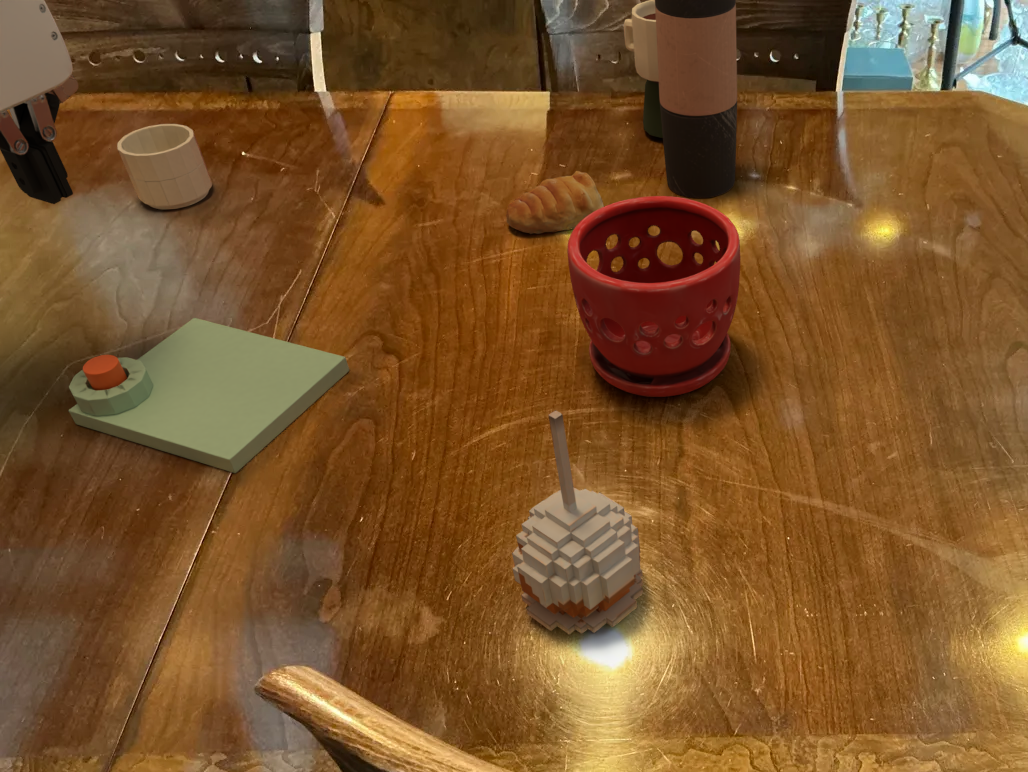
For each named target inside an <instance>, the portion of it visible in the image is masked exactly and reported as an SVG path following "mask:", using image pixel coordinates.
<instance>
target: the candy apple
mask: <svg viewBox="0 0 1028 772" xmlns="http://www.w3.org/2000/svg"><path fill="white" fill-rule="evenodd" d="M548 421H549V429H550V434H551V440H552V445H553V451H554V457H555V463H556V464H555V465H556V470H557V476H558V481H559V490H557V491H556V492H553V493H552V494H550V496H548V497H547V498H545V499H543V500H542V501H540V502H539V503H537V504H536V505H534V506H533V507H531V508H530V510H528V513H529V516H528V517H527V520H525V521H524V522H522V523H521V529H522V530H521V531H520V532H519V533H517V534H516V535H515V537H516V542H517V547H516V548H515V549H514V551H513V552H511V555H512V560H513V563H514V566H513V567H512V573H513V578H514V581H515V582H516V583H518V584H519V585H520V586H521V591H522V594H521V595H520V596H521V600H522V602H523V603H525V605H528V606H527V607H525V608H526V609H525V610H526V614H527V615H528V616H529V617H531V618H532V619H534V620H535V621H536V622H538V623H539V624H540V625H542V626H543V627H545V628H546V629H547V630H548V631H550V632H552V631H553V630H554V629H556V628H557V627H558V628H559V629H560V630H562V631H563V632H565V633H566V634H568V635H571V634H573V632H574V631H577V632H578V633H580V634H581V635H582V634H583V633H585V632H586V631H587V630H589V631H590V632H592V633H593V634H595V633H596V632H598V631H599V630H600V629H601V628H602V627H603V626H605V625H606V624H607V625H609V626H610V627H612V628H614V627H616V625H617V624H619V623H620V622H621V621H622V620H624V619H625V618H626V617H627V616H628V615H630V614H631V613H632V612H633V611H635V610H636V609H637V608H638V601H637V599H638V598H640V597H641V596H642V595H644V589H643V587H642V586H643V585H644V582H643V578H642V577H643V576H644V574H643V569H641V544H640V535H639V527H637V526H636V525H634V524H633V517H632V515H631V514H630V513H628V512H626V511H625V507H624V506H623V505H621V504H620V503H618V502H616V501H614V500H613V499H611V498H609V496H606V495H605V494H603V493H601V492H598V493H597V492H596V491H594V490H593V489H592V490H588V489H587V488H583V489H580V490H579V489H578V488H576V487H574V481H573V474H572V473H573V472H572V467H571V461H570V454H569V449H568V442H567V435H566V429H565V423H564V415H563V413H561V412H560V411H558V410H556V409H555V410H554V411H552V412H550V413H549V414H548Z"/></svg>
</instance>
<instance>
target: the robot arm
mask: <svg viewBox="0 0 1028 772" xmlns="http://www.w3.org/2000/svg"><path fill="white" fill-rule="evenodd" d="M73 68H74V67H73V62H72V59H71V55H70V52H69V50H68V47H67V45H66V42H65V40H64V38H63V35H62V34H61V31H60V29H59V27H58V24H57V23H56V21H55V19H54V17H53V14H52V12H51V10H50V9H49V6H48V4H47V2H46V1H45V0H0V152H1V154H2V156H3V158H4V161H5V162H6V164H7V167H8V168H9V170H10V173H11V174H12V176H13V179H14V180H15V183H16V184H17V186H18V188H19V189H20V190H21V191H22V193H24V194H25V195H27V196H28V197H29V198H32V199H35V200H39V201H42V202H46V203H48V204H52V205H56V204H58V203H60V202H61V201H62V198H66V199H68V198H69V197H71V196H72V195H74V192H73V189H72V187H71V185H70V183H69V180H68V179H67V178H68V177H69V176H68V175H69V174H68V172H67V169H66V168H65V165H64V163H63V161H62V159H61V157H60V155H59V152H58V150H57V147H56V146H55V144H54V143H55V142H54V141H55V140H56V139H57V135H58V133H57V132H58V131H57V129H56V125H55V123H56V120H57V116H58V113H59V109H60V106H61V104H63V103H65V102H66V101H67V100H68V99H69V98H70V97H71V96H73V95H74V94H75V93H76V92H77V91H78V90H79V82H78V80H77V79H76V78H75V76H74V75H73V72H74V70H73ZM8 110H9V111H8Z"/></svg>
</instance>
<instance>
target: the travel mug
mask: <svg viewBox="0 0 1028 772" xmlns="http://www.w3.org/2000/svg"><path fill="white" fill-rule="evenodd" d="M736 3H737V0H655V13H656V34H657V55H658V76H659V97H660V110H661V122H662V133H663V138H662V143H663V144H662V145H663V155H664V165H665V175H666V183H667V186H668V188H669V190H670V191H672V192H673V194H676V195H679V196H681V197H684V198H692V199H709V198H714V197H719V196H721V195H724V194H726V193H727V192H729V191H730V190H731V189H732V188H733V187H734V186H735V182H736V167H737V164H736V163H737V127H738V126H737V124H738V62H737V59H738V58H737V57H738V56H737V55H738V53H737V4H736Z"/></svg>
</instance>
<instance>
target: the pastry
mask: <svg viewBox="0 0 1028 772" xmlns="http://www.w3.org/2000/svg"><path fill="white" fill-rule="evenodd" d="M602 207H604V202H603V199H602V196H601V194H600V192H599V191H598V189H597V185H596V183H595V181H594V180H593V178H592V177H591V176H590V175H589V174H588V173H587V172H582V171H579V170H576V171H574V173H572V175H565V176H562V175H561V176H557V177H554V178H546V179H544V180H542V181H541V182H540V183H539V184H538V185H537V186H535V187H534V188H533V189H531V190H530V191H525V192H523V193H522V194H521V195H519V196H518V197H517V198H515V199H514V200H513V201H512V202H511V203H508V206H507V208H506V215H505V217H506V219H505V222H506V223H507V225H508V226H509V227H511V228H513V229H515V230H516V231H520V232H522V233H527V234H530V235H533V234H536V235H541V234H543V233H556V232H562V231H569V230H574V228H575V227H576V226H577V224H578V223H579V222H580V221H581V220H583V219H584V218H585V217H586V216H588V215H589V214H591V213H592V212H594V211H596V210H598V209H600V208H602Z"/></svg>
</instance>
